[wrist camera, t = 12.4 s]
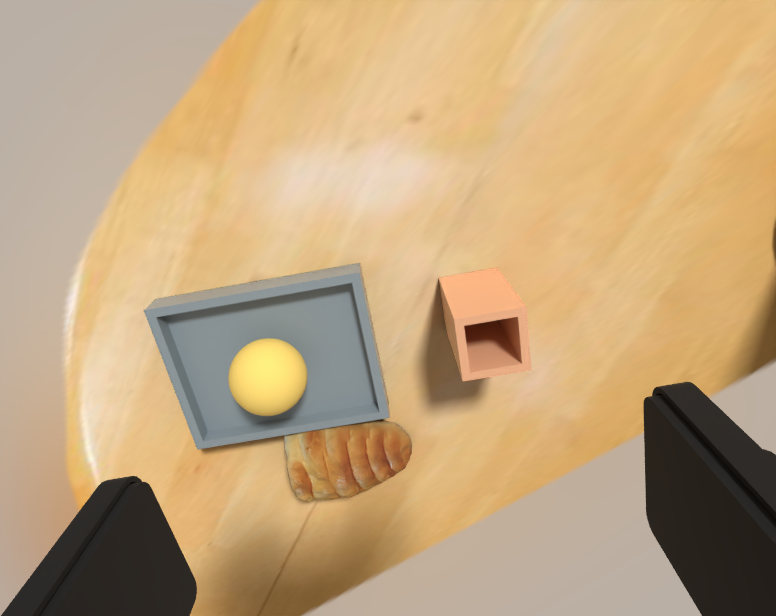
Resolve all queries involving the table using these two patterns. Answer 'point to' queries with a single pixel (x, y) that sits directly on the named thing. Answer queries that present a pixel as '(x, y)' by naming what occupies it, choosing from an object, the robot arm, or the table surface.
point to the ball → (267, 377)
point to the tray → (278, 321)
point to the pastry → (345, 458)
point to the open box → (485, 324)
